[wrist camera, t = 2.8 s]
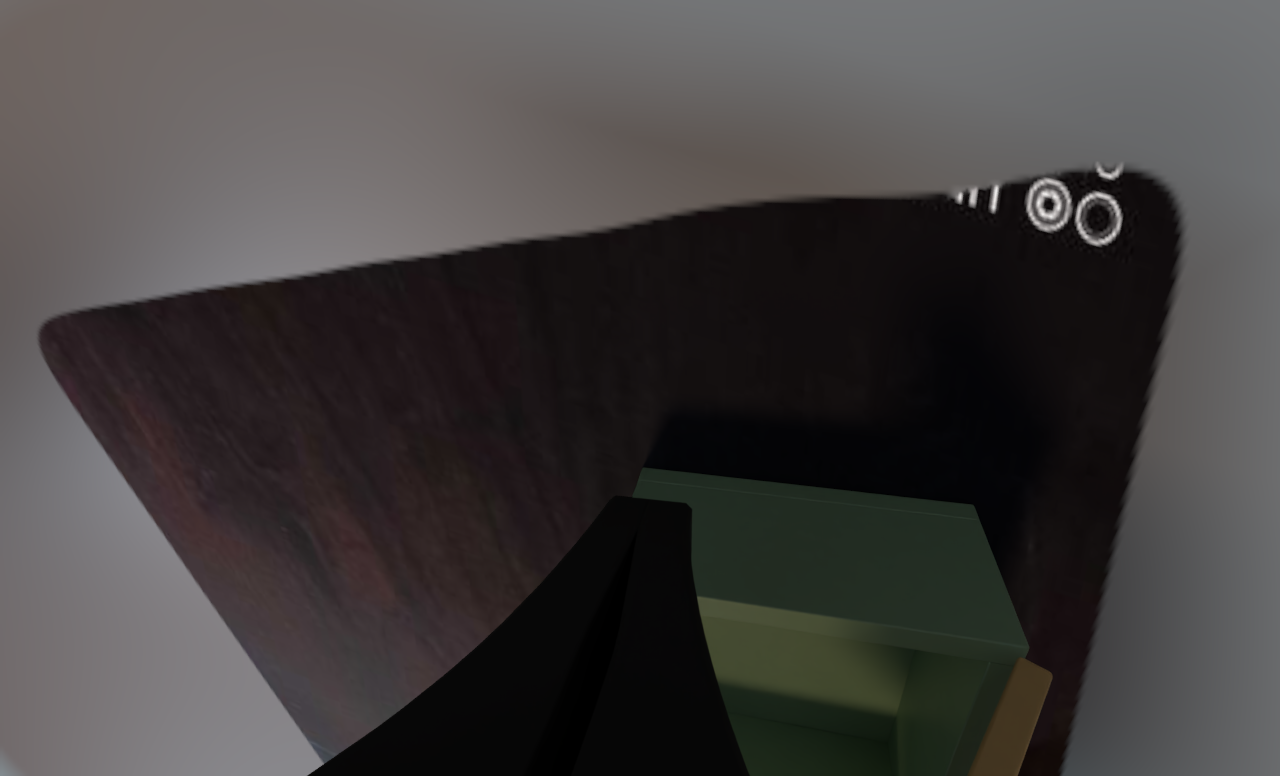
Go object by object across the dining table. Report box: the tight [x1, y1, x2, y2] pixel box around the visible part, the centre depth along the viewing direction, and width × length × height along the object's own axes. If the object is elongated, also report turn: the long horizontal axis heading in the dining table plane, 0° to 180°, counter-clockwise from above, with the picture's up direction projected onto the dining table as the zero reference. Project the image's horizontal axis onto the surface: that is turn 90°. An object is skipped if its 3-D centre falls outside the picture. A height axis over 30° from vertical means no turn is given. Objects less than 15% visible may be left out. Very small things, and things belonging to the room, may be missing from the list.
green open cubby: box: [632, 468, 1029, 776], centre depth 23 cm, size 12×14×6 cm
